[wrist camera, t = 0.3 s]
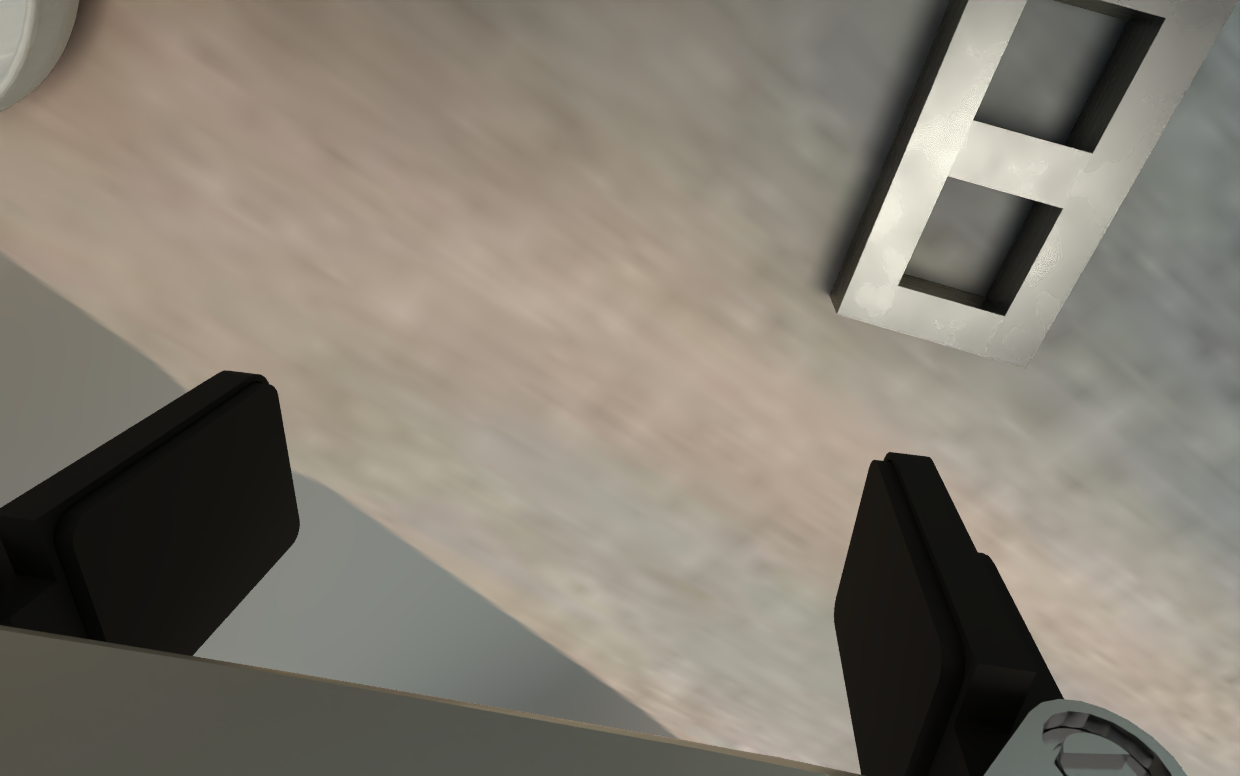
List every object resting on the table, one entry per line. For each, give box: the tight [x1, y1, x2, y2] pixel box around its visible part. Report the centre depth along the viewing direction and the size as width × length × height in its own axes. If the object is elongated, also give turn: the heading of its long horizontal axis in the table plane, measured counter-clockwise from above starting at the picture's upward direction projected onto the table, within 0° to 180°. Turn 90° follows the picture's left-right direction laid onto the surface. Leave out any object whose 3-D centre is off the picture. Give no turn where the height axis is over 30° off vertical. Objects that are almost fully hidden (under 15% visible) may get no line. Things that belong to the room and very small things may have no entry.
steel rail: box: [830, 0, 1238, 368], centre depth 31 cm, size 26×10×3 cm, turn 166°
